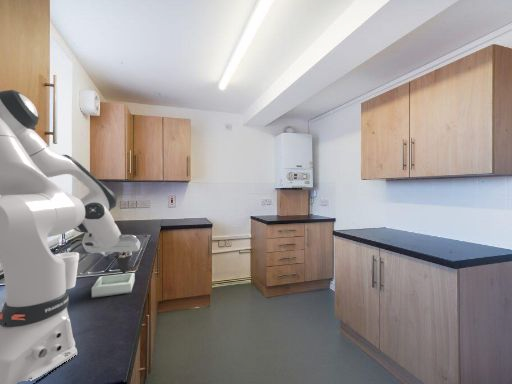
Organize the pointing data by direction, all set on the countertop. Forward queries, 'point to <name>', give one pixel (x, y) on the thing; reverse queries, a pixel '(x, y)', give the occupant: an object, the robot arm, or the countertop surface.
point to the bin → (113, 285)
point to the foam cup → (70, 267)
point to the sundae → (123, 261)
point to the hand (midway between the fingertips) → (118, 254)
